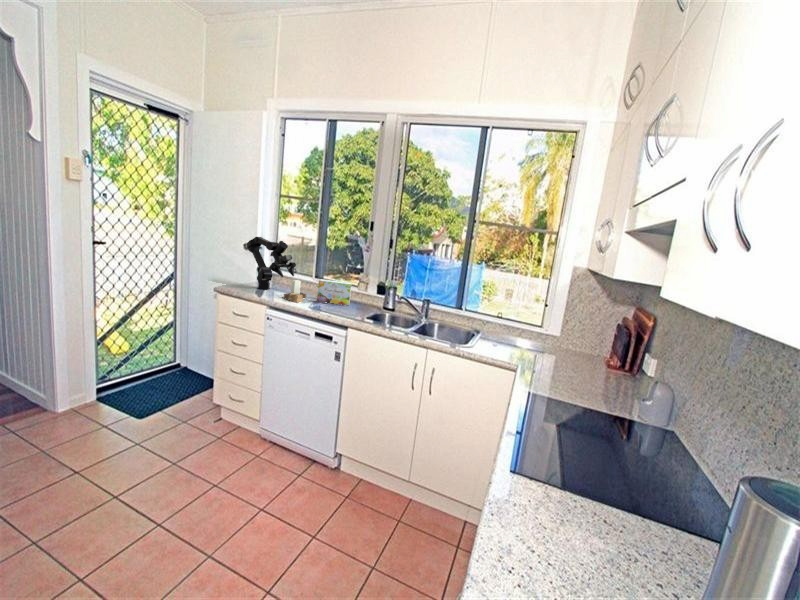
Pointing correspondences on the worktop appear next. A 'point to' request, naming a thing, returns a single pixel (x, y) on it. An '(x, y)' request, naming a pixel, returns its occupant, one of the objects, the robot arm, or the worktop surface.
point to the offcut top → (295, 296)
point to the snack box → (334, 292)
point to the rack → (290, 293)
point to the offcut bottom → (296, 300)
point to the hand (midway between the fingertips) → (288, 276)
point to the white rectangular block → (295, 286)
